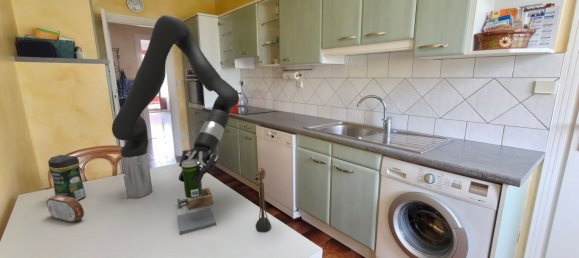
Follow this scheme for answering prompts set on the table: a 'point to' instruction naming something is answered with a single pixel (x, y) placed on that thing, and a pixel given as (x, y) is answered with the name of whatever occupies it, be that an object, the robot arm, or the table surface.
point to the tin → (65, 208)
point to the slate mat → (195, 220)
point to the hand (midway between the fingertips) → (188, 182)
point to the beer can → (191, 179)
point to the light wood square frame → (198, 200)
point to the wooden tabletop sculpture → (262, 204)
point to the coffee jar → (66, 176)
